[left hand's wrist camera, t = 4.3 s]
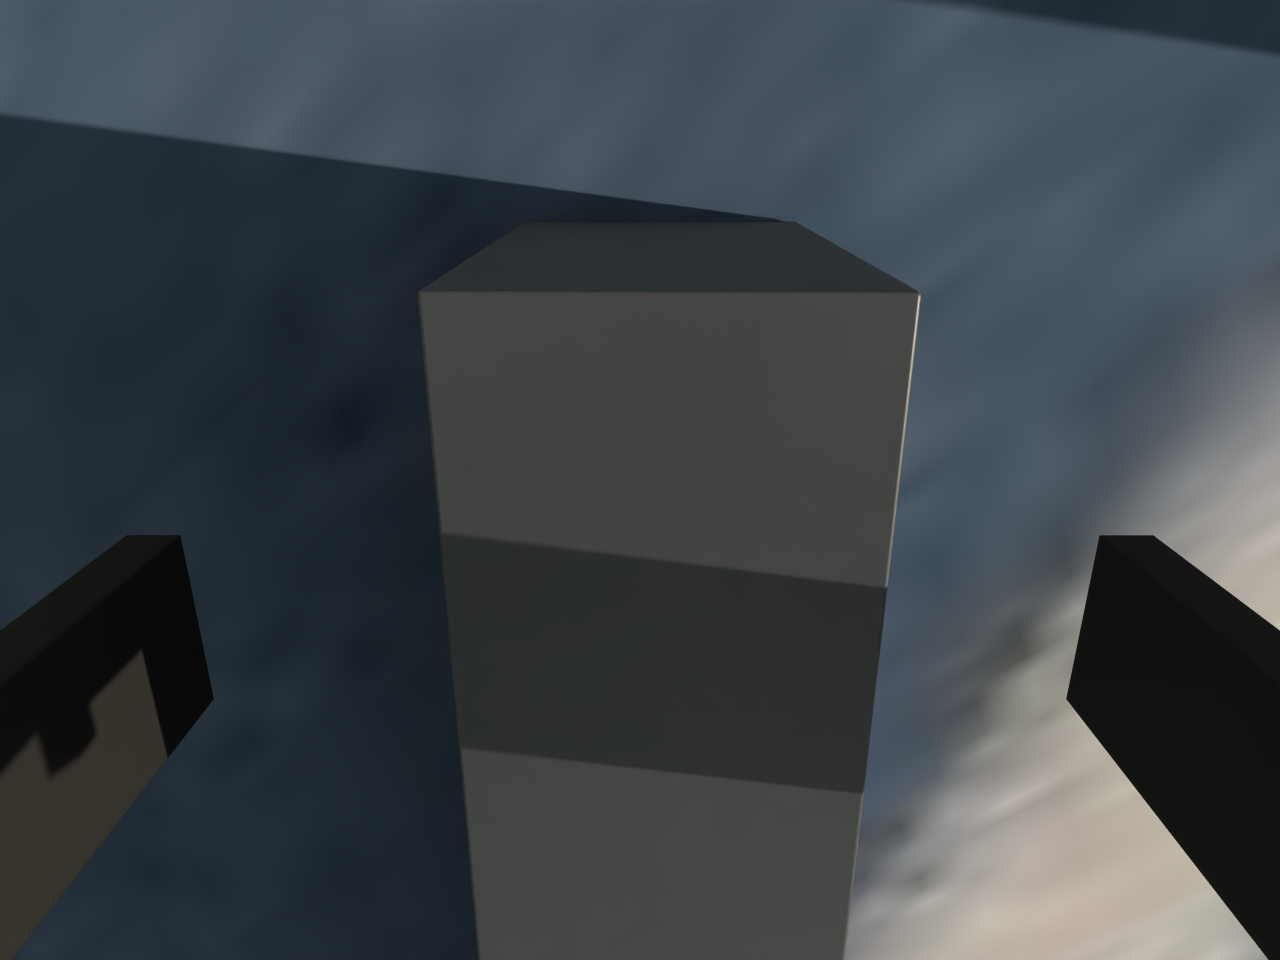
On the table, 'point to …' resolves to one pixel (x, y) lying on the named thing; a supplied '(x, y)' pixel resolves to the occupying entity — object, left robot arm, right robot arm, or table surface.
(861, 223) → the table surface
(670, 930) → the post
